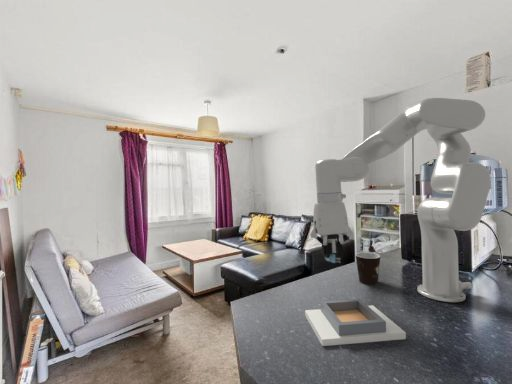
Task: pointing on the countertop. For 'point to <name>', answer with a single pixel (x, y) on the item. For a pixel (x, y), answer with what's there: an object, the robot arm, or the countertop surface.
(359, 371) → the countertop surface
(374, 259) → the coffee mug
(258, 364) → the countertop surface
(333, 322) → the dock board
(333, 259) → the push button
